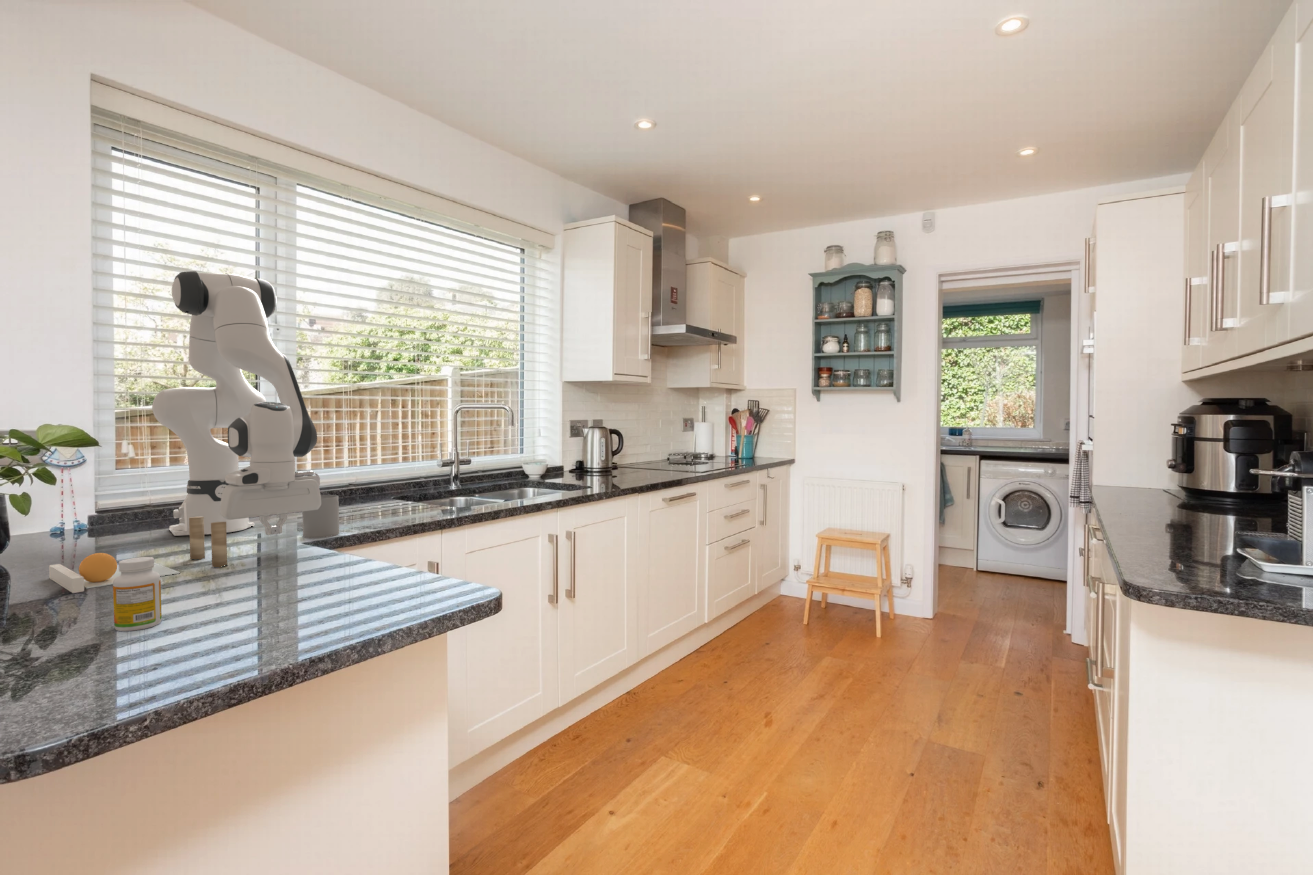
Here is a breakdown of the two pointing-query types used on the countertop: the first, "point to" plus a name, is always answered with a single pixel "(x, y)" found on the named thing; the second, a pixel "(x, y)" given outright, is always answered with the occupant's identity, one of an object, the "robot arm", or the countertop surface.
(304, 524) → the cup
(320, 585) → the countertop surface
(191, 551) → the post
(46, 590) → the countertop surface
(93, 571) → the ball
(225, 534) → the post
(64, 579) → the wall
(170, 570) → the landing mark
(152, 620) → the supplement bottle
